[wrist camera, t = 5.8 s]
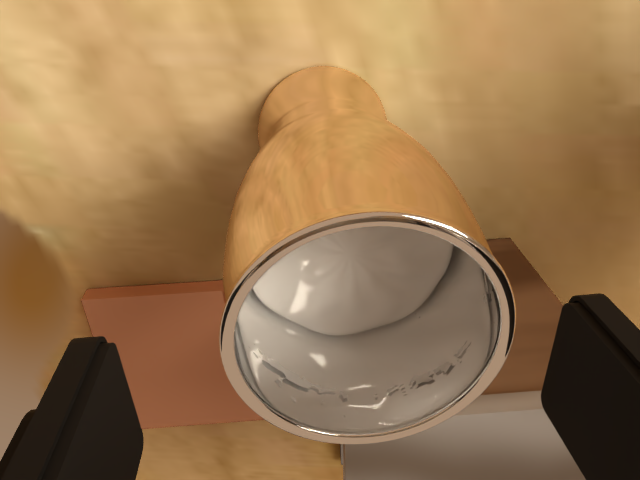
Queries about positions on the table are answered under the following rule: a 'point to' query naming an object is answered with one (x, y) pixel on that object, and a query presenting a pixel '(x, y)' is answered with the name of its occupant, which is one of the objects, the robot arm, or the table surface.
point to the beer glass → (355, 274)
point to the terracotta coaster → (169, 351)
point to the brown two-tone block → (489, 408)
